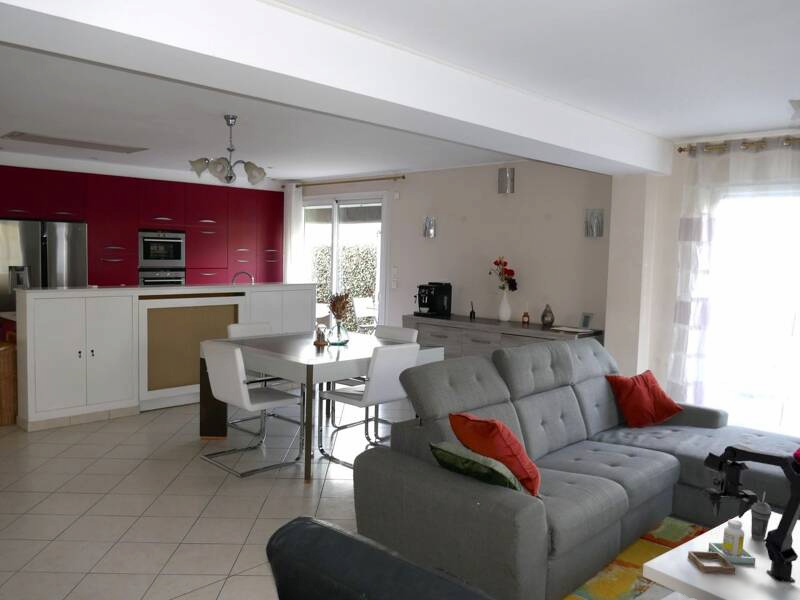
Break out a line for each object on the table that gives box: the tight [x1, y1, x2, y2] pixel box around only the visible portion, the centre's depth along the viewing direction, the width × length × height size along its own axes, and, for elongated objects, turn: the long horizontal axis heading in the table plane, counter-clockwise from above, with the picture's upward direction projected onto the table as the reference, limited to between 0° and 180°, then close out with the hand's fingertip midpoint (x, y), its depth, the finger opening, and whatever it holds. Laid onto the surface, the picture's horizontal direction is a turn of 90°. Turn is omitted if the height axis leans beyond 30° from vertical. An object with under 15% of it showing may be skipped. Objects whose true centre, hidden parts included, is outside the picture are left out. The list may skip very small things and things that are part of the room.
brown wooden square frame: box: [687, 550, 737, 576], centre depth 231 cm, size 11×11×2 cm
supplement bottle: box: [722, 518, 745, 557], centre depth 239 cm, size 7×7×13 cm
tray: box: [708, 541, 756, 566], centre depth 239 cm, size 11×11×2 cm
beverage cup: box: [750, 491, 772, 542], centre depth 255 cm, size 7×7×20 cm
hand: (727, 517), depth 243 cm, fingers open, 9 cm apart
